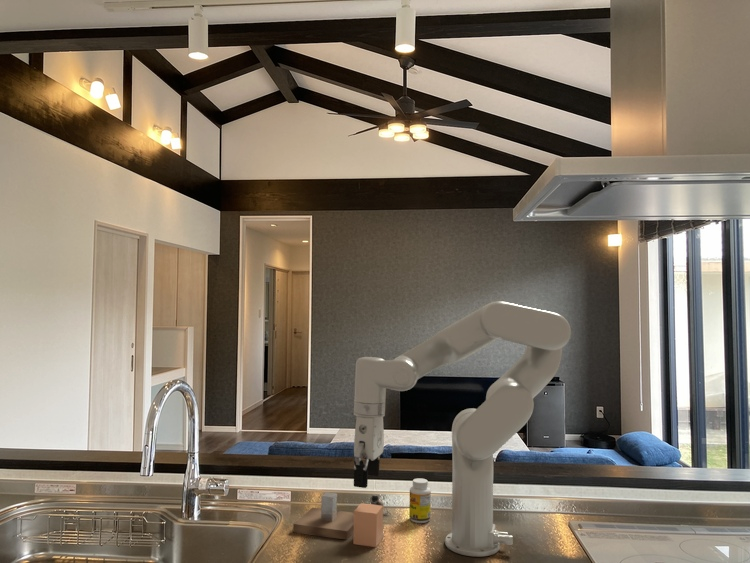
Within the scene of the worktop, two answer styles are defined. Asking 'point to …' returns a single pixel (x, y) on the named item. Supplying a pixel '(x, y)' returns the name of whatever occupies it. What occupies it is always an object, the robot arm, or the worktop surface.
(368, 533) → the peach upright block
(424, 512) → the supplement bottle
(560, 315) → the robot arm
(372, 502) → the bird figurine
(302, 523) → the walnut base board
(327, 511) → the metal post
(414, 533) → the worktop surface
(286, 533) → the worktop surface
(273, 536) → the worktop surface
